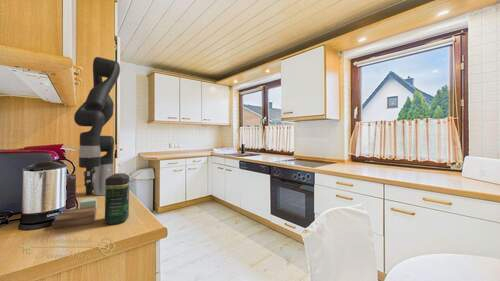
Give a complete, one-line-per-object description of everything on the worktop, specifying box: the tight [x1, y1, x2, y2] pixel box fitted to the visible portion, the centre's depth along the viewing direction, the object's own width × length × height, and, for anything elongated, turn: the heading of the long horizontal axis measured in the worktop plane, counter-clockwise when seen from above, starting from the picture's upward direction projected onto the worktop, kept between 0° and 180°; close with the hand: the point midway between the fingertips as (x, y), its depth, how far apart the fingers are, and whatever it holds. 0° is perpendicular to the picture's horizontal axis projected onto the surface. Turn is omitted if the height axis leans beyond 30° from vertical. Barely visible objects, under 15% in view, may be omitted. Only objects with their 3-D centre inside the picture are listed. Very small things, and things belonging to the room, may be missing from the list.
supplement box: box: [66, 173, 77, 210], centre depth 93 cm, size 9×5×16 cm, turn 84°
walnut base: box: [51, 207, 98, 230], centre depth 82 cm, size 12×12×3 cm
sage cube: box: [79, 196, 98, 209], centre depth 91 cm, size 6×6×6 cm
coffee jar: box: [104, 172, 130, 225], centre depth 83 cm, size 10×8×19 cm
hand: (89, 192), depth 91 cm, fingers open, 8 cm apart
